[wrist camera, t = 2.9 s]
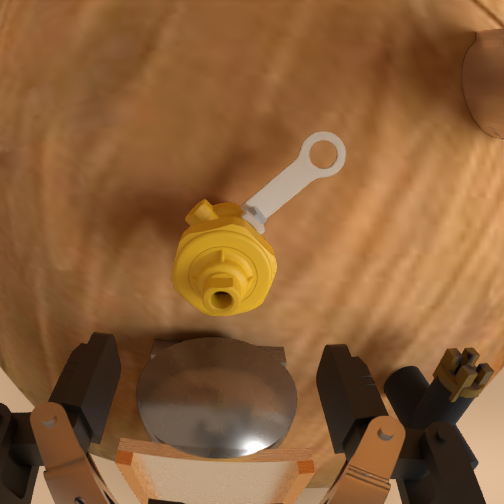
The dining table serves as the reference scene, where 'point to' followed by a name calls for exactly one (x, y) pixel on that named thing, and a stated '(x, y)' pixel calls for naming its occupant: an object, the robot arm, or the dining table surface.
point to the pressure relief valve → (240, 240)
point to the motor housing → (215, 426)
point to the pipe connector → (439, 392)
